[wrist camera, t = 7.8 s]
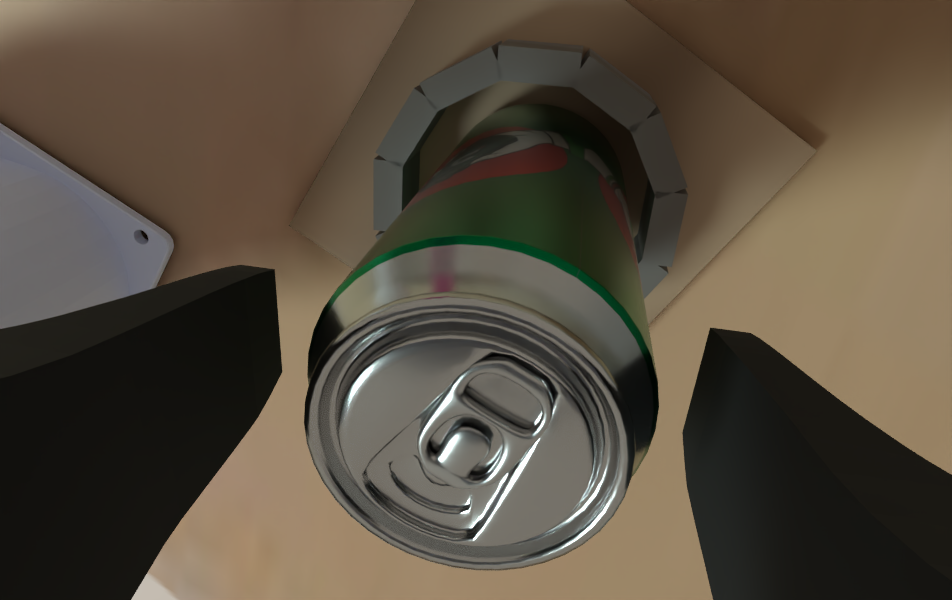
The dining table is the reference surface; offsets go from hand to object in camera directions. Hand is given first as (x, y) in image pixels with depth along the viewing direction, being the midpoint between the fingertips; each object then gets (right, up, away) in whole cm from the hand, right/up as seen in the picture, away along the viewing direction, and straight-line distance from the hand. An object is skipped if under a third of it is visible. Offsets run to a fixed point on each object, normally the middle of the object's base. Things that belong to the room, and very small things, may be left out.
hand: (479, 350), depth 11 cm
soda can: (+2, +4, +8) cm, 10 cm away
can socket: (+2, +4, +9) cm, 10 cm away
